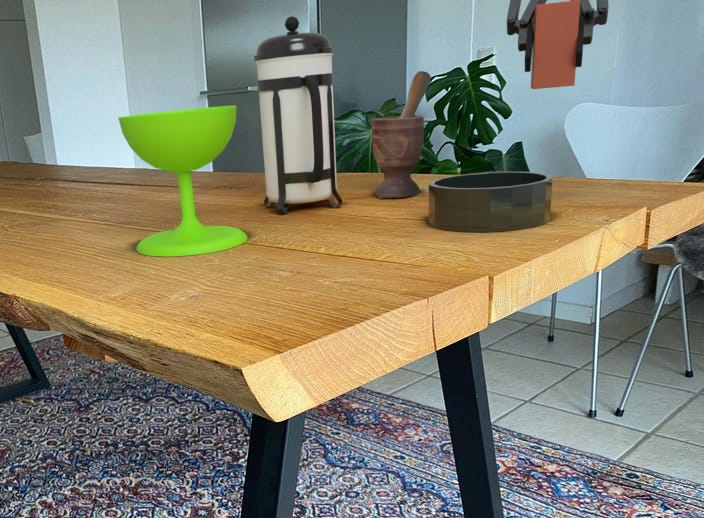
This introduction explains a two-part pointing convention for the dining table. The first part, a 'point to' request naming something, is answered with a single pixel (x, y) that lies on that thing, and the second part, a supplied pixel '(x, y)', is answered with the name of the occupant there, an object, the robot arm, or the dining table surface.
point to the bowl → (490, 201)
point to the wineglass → (183, 171)
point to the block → (555, 44)
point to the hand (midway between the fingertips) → (553, 62)
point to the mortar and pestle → (400, 143)
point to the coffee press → (297, 118)
